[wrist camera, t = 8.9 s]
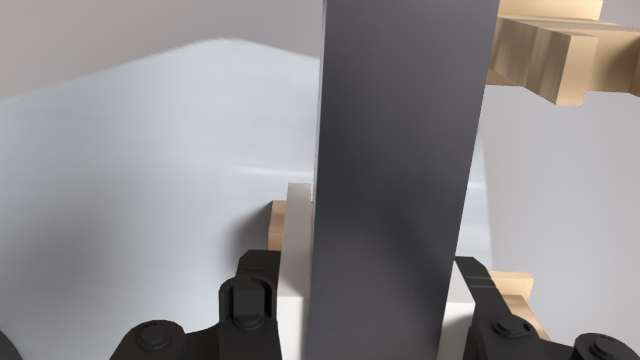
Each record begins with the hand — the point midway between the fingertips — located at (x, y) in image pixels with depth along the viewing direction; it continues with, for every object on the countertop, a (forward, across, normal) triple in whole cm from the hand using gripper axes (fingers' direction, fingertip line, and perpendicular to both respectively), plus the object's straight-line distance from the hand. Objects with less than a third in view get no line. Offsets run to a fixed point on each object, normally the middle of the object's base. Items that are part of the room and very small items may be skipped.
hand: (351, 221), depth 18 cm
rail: (-4, 0, 0) cm, 4 cm away
